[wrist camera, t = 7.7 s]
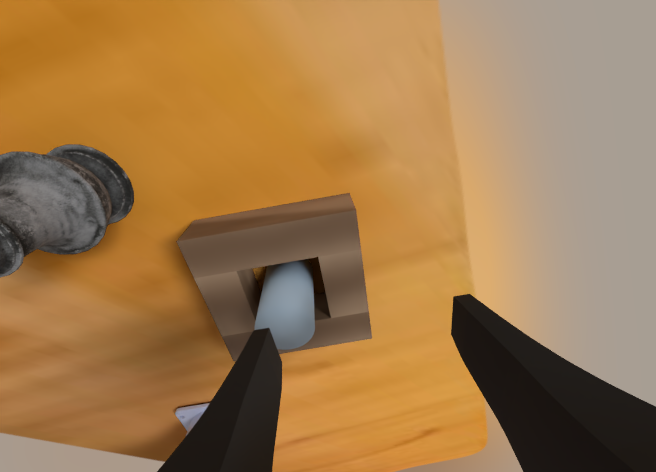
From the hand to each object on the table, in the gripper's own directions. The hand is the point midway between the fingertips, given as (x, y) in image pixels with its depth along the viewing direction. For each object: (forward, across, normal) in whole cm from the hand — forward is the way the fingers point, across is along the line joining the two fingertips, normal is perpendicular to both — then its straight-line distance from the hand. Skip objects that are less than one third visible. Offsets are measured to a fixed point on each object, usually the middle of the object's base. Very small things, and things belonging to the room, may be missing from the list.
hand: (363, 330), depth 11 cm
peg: (+11, +4, +4) cm, 12 cm away
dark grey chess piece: (+11, +16, -5) cm, 20 cm away
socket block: (+11, +4, +4) cm, 12 cm away
